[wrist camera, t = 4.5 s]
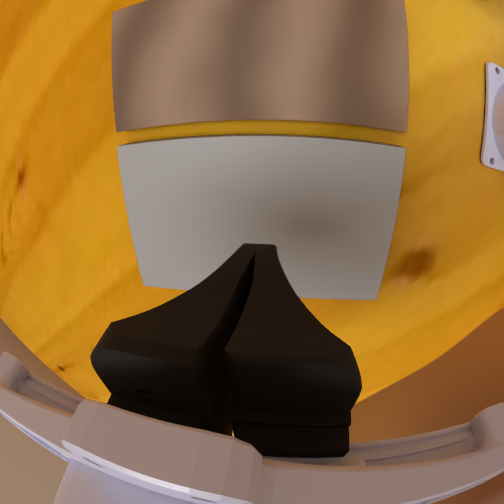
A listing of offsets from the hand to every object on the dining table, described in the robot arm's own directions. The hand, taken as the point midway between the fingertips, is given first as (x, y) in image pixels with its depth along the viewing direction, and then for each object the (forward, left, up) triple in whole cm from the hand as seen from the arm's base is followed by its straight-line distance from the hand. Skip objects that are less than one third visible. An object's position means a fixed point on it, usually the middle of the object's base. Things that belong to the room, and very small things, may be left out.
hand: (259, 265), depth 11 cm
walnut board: (+1, -10, -8) cm, 12 cm away
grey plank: (+1, +1, -7) cm, 8 cm away
